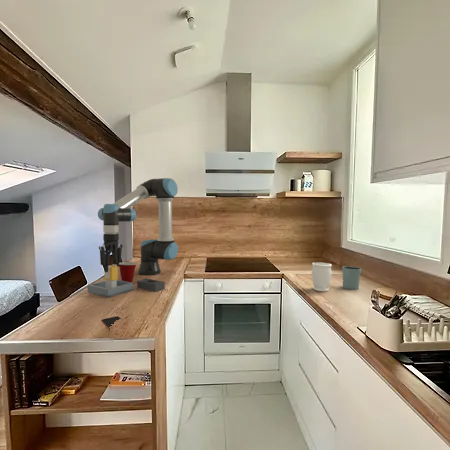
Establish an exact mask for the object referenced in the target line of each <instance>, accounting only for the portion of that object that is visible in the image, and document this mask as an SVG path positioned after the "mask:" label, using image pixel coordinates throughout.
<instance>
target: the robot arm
mask: <svg viewBox="0 0 450 450" xmlns="http://www.w3.org/2000/svg"><path fill="white" fill-rule="evenodd" d="M177 194H178V184H177V183H176V181H175V180H174V179H172V178H170V177H164V178H163V177H162V178H151V179H148V180H146V181H144V182H142V183H140V184H139V185H137V186H136V188H135V189H134V190H132V191H131V192H129V193H128V194H126V195H125V196H122V197H121V198H120V199H118V200H116V201H115V202H113V203H105V204H104V205H103V207H100V208H99V209H98V210H97V217H98V219H99V220H100V221H103V225H102V226H103V227H102V228H103V236H102V237H103V238H102V239H103V243H102V244H103V245H101V246H100V245H99V246H98V249H99V258H100V265H101V266H103V269H104V270H103V271H104V272H105V278H108V279H109V278H110V266H108V265H110V259H111V256H112V262H113V263H112V264H111V265H112V266H118V267H119V263H122V250H123V249H122V248H123V247H124V245H123V244H120V243H119V236H120V234H119V232H120V229H119V227H120V226H119V224H120V222H123V223H124V222H126V223H127V222H128V223H129V222H133V221H135V220H136V218H137V212H136V210H135V209H134V208H132V207H133V206H135V205H136V204H138V203H139V202H140V201H142V200H145V199H148V198H151V197H155V199H156V201H157V202H158V238H157V239H148V240H147V239H146V240H142V241H141V243H140V264H139V267H138V270H137V272H138V273H137V274H138V275H142V276H154V275H159V274H161V272H162V271H161V267H160V263H159V260H163V261H170V260H171V261H172V260H174V259H175V258H176V257H177V255H178V253H179V245H178V244H177V242H175V239H174V237H173V206H172V205H173V204H172V202H173V201H174V199H175V197H176V196H177Z"/></svg>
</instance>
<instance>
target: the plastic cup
mask: <svg viewBox="0 0 450 450" xmlns="http://www.w3.org/2000/svg"><path fill="white" fill-rule="evenodd" d="M137 264H138V263H137V262H132V261H131V262H128V261H126V262H125V261H121V263H119V265H118V270H119V272H120V278H121V281H126V282H131V283H133V281H134V276H135V270H136V267H137Z"/></svg>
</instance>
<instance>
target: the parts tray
mask: <svg viewBox="0 0 450 450" xmlns="http://www.w3.org/2000/svg"><path fill="white" fill-rule="evenodd" d="M132 291H134V282H132V283H131V282H126V281H122V279H121V280H120V279H118V280H117V287H113V288H109V289H108V288H106V280H103V281H99V282H98V281H97V282H95V283H91V284H87V293H89V294H92V295H96V296H101V297H105V298H111V297H114V296H115V297H116V296H119V295H122V294H125V293H129V292H132Z"/></svg>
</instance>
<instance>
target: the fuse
mask: <svg viewBox="0 0 450 450" xmlns="http://www.w3.org/2000/svg"><path fill="white" fill-rule="evenodd" d="M108 266H110V278H109V279H108V278H105V272H104V280H105V281H106V288H108V289H109V288H113V287H117V280H119V277H118V275H119V265H118V266H112V264H109V265H108Z"/></svg>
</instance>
